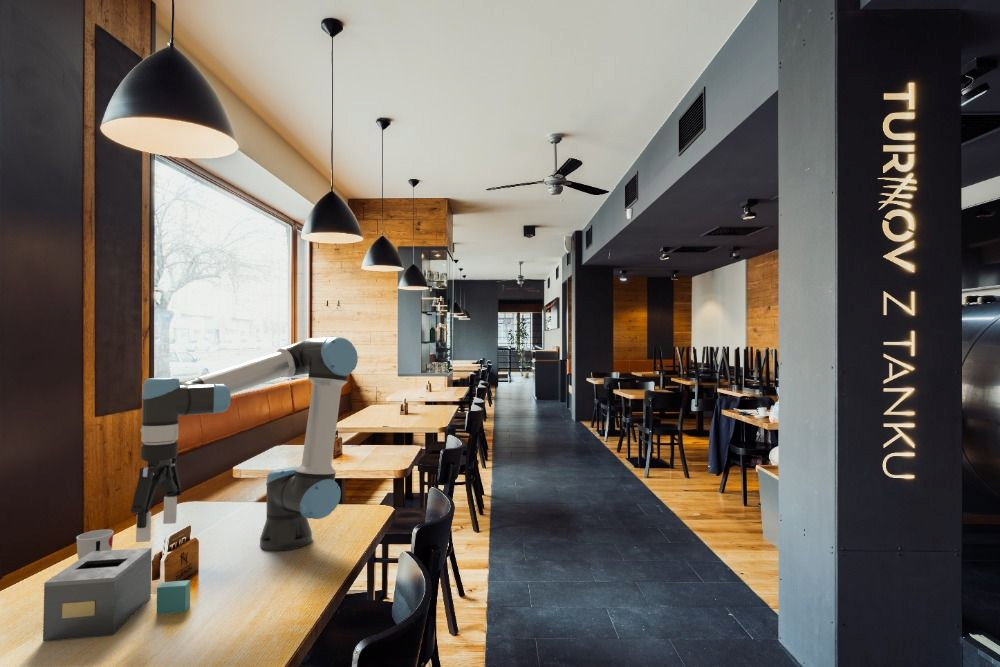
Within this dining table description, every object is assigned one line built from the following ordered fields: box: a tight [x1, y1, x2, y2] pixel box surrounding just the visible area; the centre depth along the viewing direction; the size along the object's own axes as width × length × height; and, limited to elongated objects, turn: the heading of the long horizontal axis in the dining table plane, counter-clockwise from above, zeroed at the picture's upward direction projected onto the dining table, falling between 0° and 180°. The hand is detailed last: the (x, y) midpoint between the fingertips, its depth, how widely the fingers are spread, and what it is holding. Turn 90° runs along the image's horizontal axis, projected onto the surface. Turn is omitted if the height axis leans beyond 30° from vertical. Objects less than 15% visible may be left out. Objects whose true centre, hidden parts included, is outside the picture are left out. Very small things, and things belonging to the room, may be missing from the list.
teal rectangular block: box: [156, 579, 191, 615], centre depth 127 cm, size 6×3×6 cm, turn 101°
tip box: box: [42, 547, 152, 642], centre depth 123 cm, size 13×18×12 cm
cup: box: [76, 529, 114, 560], centre depth 149 cm, size 8×8×10 cm
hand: (157, 531), depth 130 cm, fingers open, 13 cm apart
